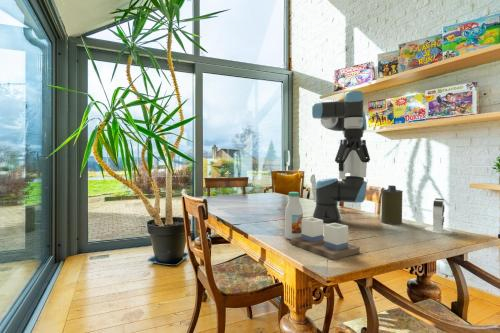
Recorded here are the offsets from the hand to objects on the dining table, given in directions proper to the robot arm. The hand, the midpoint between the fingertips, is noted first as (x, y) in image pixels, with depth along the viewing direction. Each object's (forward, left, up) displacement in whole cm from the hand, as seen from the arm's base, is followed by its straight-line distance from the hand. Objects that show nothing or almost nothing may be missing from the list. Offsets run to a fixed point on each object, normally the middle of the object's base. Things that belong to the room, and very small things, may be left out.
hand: (352, 178), depth 122 cm
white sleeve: (+8, -20, -24) cm, 32 cm away
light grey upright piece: (+14, +46, -27) cm, 55 cm away
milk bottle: (-15, -20, -27) cm, 37 cm away
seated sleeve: (-4, -20, -24) cm, 32 cm away
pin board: (+2, -20, -26) cm, 33 cm away
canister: (-8, +44, -26) cm, 52 cm away
